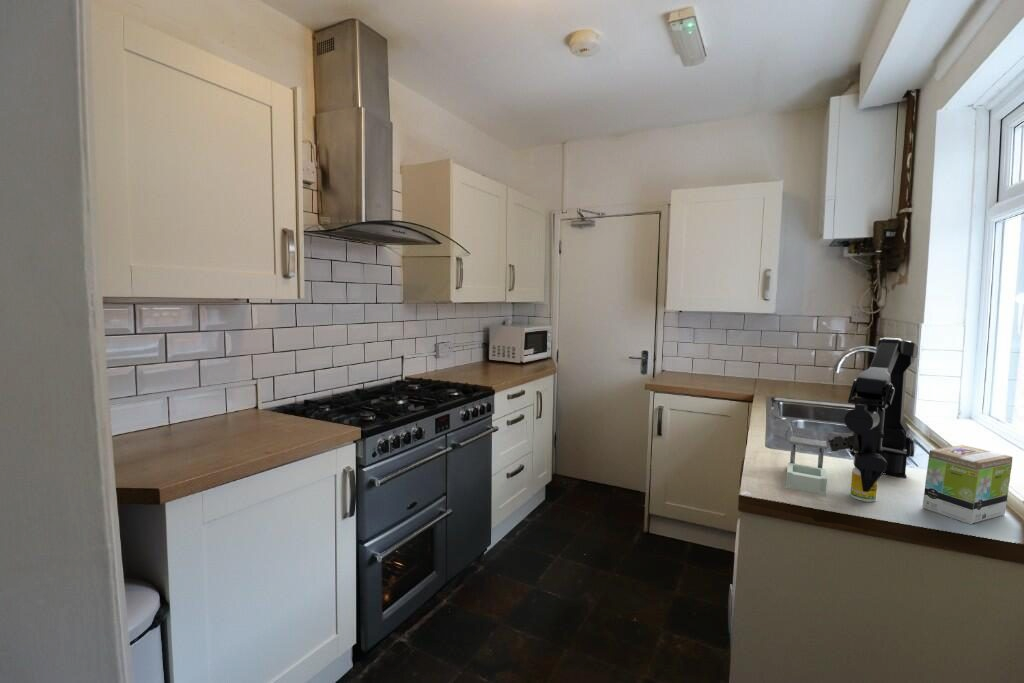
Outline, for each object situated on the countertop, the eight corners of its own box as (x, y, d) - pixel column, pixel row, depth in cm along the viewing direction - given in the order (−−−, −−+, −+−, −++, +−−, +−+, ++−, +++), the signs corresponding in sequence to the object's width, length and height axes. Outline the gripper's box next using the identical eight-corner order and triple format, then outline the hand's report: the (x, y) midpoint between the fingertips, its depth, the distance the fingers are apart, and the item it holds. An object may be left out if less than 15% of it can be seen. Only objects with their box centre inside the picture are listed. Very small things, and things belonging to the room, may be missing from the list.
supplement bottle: (855, 492, 126) (858, 456, 125) (879, 499, 122) (882, 462, 121) (846, 496, 123) (849, 460, 122) (870, 504, 119) (874, 466, 118)
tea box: (973, 526, 108) (980, 462, 106) (920, 508, 117) (926, 449, 116) (1007, 515, 114) (1014, 454, 112) (954, 499, 123) (960, 442, 122)
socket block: (823, 472, 140) (824, 459, 140) (826, 495, 123) (827, 480, 123) (788, 466, 145) (789, 453, 145) (785, 487, 128) (786, 473, 128)
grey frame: (823, 469, 140) (825, 441, 140) (824, 475, 135) (826, 446, 135) (788, 463, 145) (790, 436, 144) (787, 468, 140) (789, 441, 139)
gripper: (829, 414, 133) (824, 469, 134) (832, 429, 117) (827, 491, 118) (879, 420, 127) (874, 477, 128) (890, 437, 111) (884, 501, 112)
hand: (863, 486), depth 122 cm, fingers open, 8 cm apart
